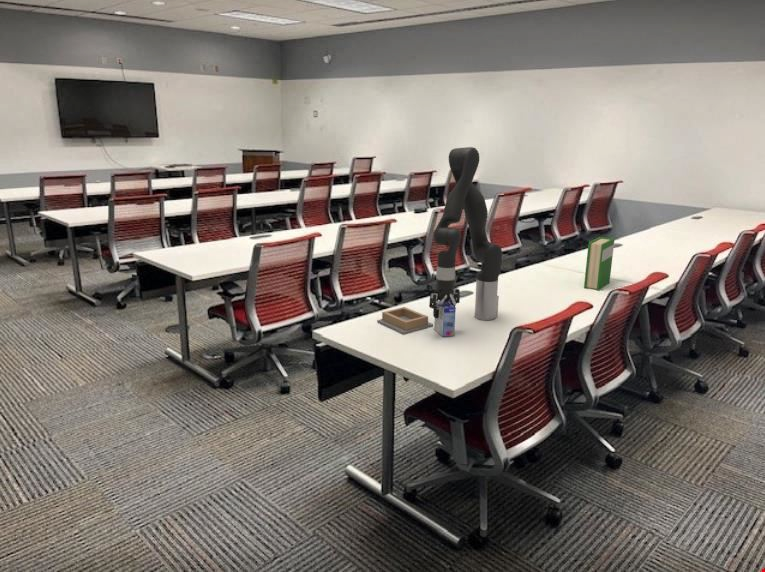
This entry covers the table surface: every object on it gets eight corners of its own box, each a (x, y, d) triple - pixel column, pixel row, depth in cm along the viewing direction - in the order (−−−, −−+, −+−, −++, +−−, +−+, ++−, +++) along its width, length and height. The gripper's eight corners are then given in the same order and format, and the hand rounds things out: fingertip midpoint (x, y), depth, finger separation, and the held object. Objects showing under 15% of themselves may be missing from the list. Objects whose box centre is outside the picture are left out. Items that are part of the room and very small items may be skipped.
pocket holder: (406, 314, 254) (406, 305, 252) (433, 326, 240) (433, 316, 239) (377, 322, 244) (377, 312, 243) (403, 334, 231) (403, 324, 229)
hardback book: (598, 290, 288) (603, 244, 281) (583, 288, 293) (588, 242, 286) (609, 283, 302) (614, 238, 295) (595, 280, 306) (600, 236, 299)
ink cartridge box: (455, 336, 229) (456, 301, 225) (442, 337, 228) (443, 303, 224) (446, 327, 238) (447, 294, 234) (433, 329, 237) (434, 295, 233)
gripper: (452, 272, 234) (450, 310, 238) (425, 277, 225) (424, 316, 230) (465, 276, 228) (463, 315, 232) (438, 282, 220) (437, 321, 224)
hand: (444, 315), depth 231 cm, fingers open, 8 cm apart
